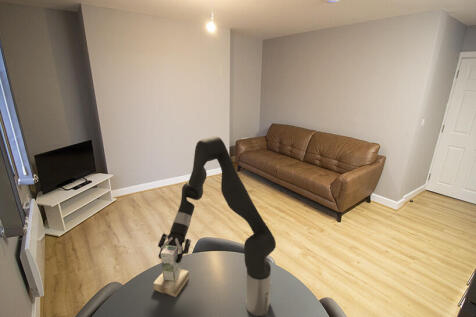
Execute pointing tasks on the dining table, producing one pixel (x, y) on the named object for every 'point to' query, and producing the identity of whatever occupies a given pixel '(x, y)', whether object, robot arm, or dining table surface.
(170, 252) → the syrup box
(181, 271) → the birch stand
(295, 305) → the dining table surface
